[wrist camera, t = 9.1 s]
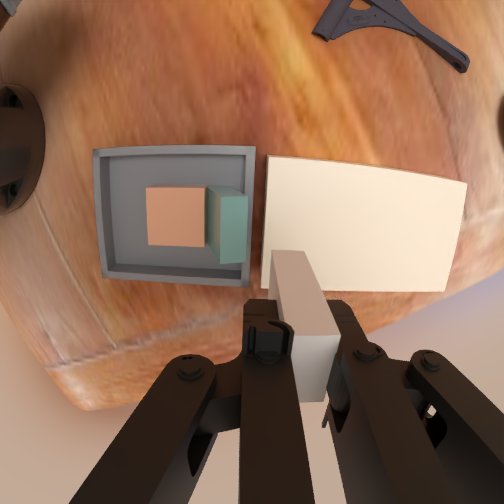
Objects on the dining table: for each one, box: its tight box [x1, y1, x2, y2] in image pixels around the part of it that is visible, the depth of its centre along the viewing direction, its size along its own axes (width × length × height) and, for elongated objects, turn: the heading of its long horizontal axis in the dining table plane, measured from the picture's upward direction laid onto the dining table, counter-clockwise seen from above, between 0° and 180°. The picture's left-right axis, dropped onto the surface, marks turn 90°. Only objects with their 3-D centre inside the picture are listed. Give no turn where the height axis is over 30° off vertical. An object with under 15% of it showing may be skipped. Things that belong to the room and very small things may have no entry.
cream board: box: [260, 155, 467, 291], centre depth 26 cm, size 18×11×4 cm, turn 87°
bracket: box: [312, 0, 470, 73], centre depth 20 cm, size 14×15×3 cm
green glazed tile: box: [207, 186, 248, 264], centre depth 25 cm, size 5×5×2 cm
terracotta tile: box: [146, 184, 208, 247], centre depth 26 cm, size 5×5×2 cm
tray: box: [93, 145, 256, 287], centre depth 27 cm, size 14×12×2 cm
